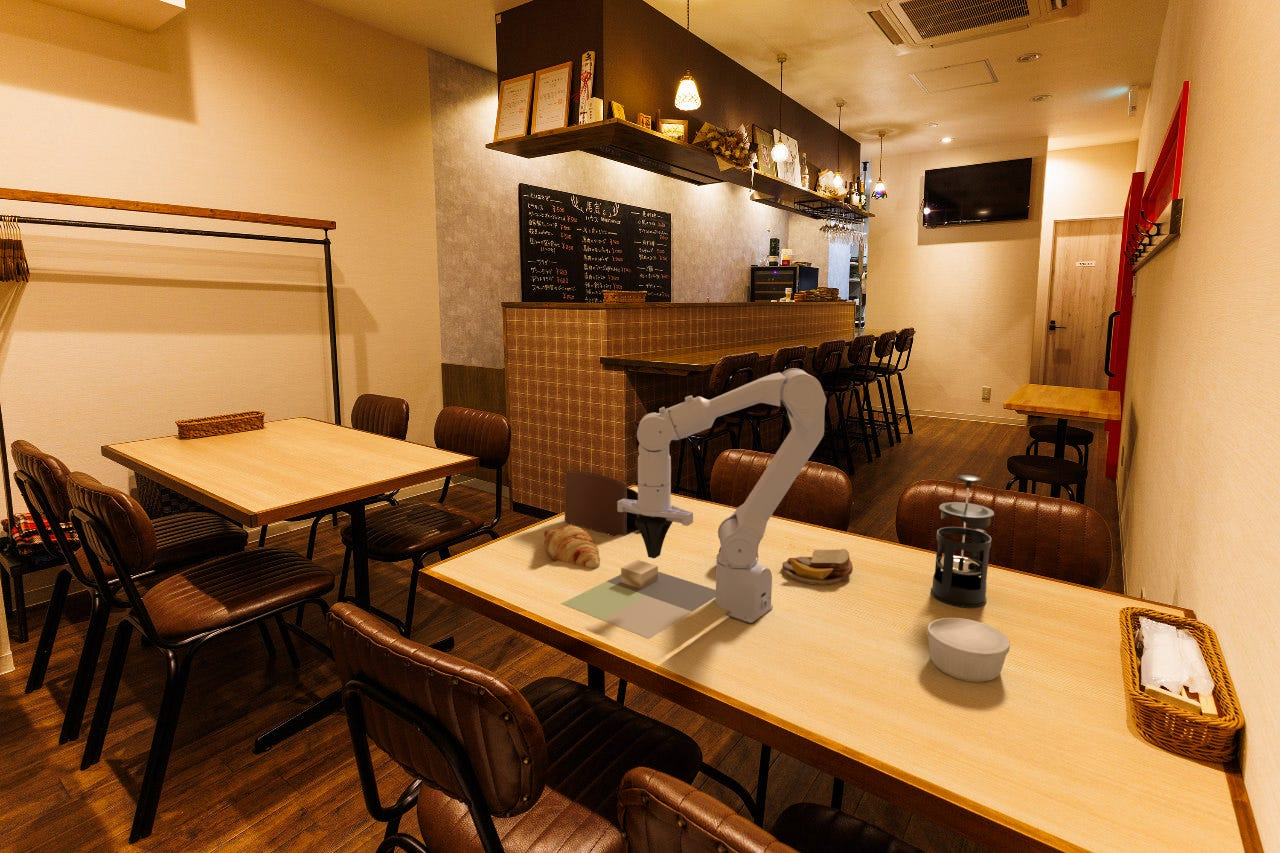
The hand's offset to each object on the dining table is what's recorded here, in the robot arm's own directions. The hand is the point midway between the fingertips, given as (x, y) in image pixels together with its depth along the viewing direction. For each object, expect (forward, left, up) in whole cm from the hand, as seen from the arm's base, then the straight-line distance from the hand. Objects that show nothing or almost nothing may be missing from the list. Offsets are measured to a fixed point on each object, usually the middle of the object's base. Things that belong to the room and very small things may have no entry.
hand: (654, 556), depth 120 cm
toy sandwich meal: (-17, -32, -10) cm, 37 cm away
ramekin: (-49, -14, -10) cm, 52 cm away
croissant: (+28, -7, -10) cm, 30 cm away
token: (+7, -5, -8) cm, 12 cm away
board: (+2, 0, -9) cm, 10 cm away
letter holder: (+35, -27, -10) cm, 46 cm away
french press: (-42, -39, -10) cm, 58 cm away
